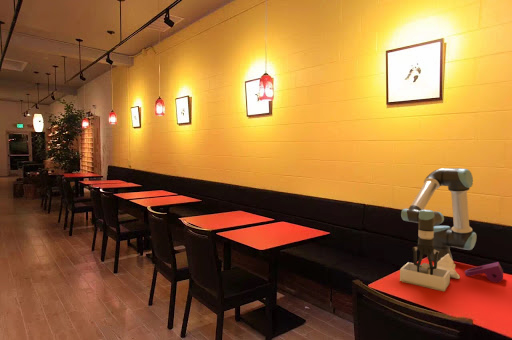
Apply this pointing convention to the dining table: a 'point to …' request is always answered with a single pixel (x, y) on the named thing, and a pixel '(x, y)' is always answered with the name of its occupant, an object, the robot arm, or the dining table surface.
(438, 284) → the cream rectangular tray
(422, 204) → the robot arm
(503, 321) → the dining table surface
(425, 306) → the dining table surface
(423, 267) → the brushed metal block
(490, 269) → the mounting bracket
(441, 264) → the cream faceted chunk
